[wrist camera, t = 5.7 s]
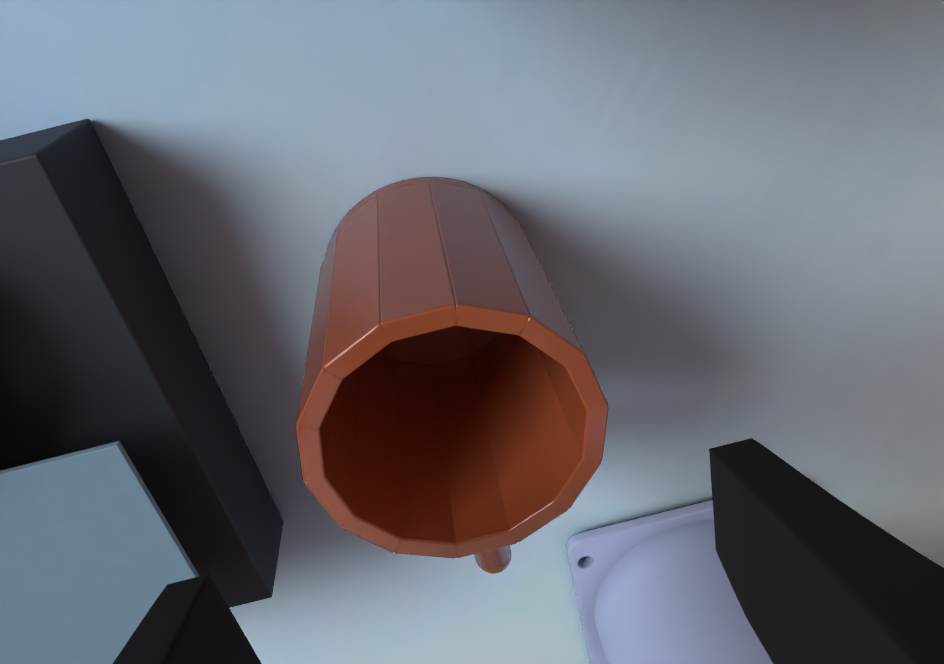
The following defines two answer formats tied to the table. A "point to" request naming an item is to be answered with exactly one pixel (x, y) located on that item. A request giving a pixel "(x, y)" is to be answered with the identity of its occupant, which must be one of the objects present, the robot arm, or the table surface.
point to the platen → (80, 557)
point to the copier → (118, 358)
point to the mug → (443, 379)
